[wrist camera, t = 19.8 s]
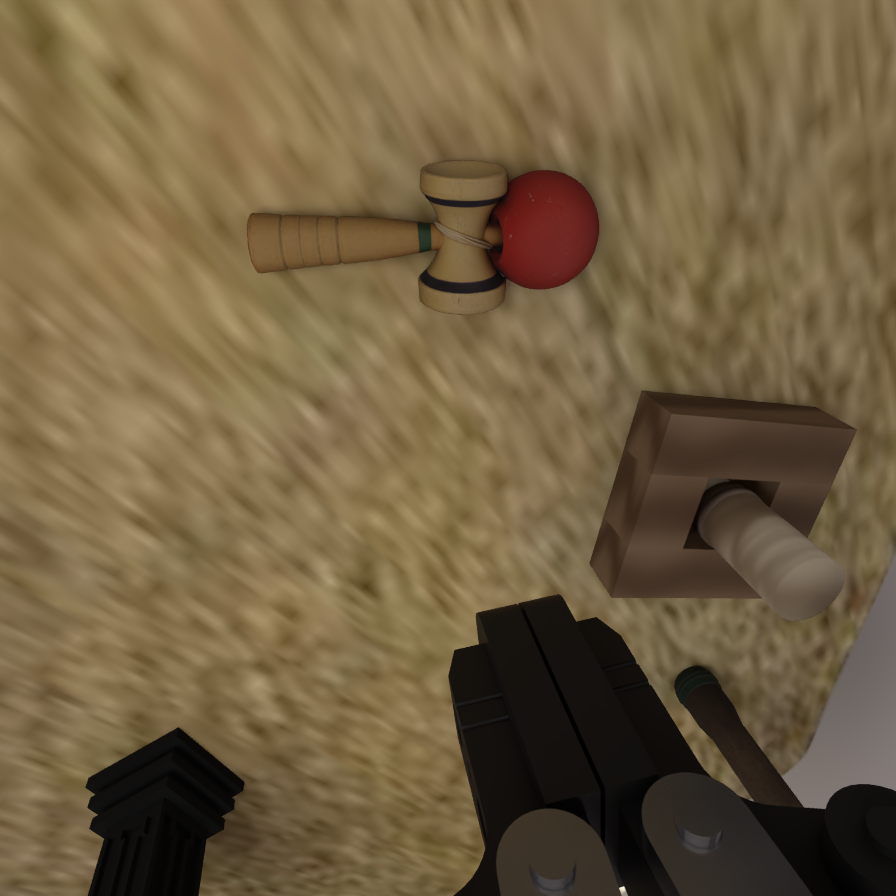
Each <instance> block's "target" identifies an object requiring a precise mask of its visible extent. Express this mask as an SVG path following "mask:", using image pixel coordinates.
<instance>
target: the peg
mask: <svg viewBox="0 0 896 896" xmlns="http://www.w3.org/2000/svg"><path fill="white" fill-rule="evenodd" d="M692 524H693V526H694V528H695V529H696V531H697V532H698V533H699V535H700V537H701V538H702V539H703V540H704V541H705V542H706V543H707V544H708V545H709V546H711V547H713V548H714V549H715V550H716V551H717V552H718V553H719V554H720V555H721V556H722V557H723V558H724V559H725V560H726V561H727V562H728V563H729V564H730V565H731V567H732V568H733V569H734V570H735V571H736V572H737V573H738V574H739V575H740V576H741V577H742V578H743V579H744V580H745V581H746V582H747V583H748V584H749V585H750V586H751V587H752V588H753V589H754V590H755V591H756V592H757V593H758V594H759V595H760V596H761V597H762V598H763V599H764V600H765V601H766V602H767V604H768V605H769V606H770V607H771V608H772V609H773V610H774V611H775V612H776V613H777V614H778V615H779V616H780V617H782V618H784V619H786V620H791V621H799V620H804V619H808V618H810V617H813V616H815V615H817V614H818V613H820V612H822V611H823V610H824V609H826V608H827V607H828V606H829V605H830V604H831V603H832V602H833V601H834V600H835V599H836V597H837V596H838V594H839V593H840V591H841V589H842V586H843V583H844V572H843V569H842V567H841V566H840V565H839V564H838V563H837V562H836V561H835V560H833V559H832V558H831V557H830V556H828V555H827V554H826V553H825V552H824V551H822V550H821V549H820V548H819V547H817V546H816V545H815V544H814V543H812V542H811V541H810V540H809V539H808V538H806V537H805V536H804V535H803V534H801V533H800V532H799V531H798V530H797V529H795V528H794V527H793V526H792V525H790V524H789V523H788V522H787V521H786V520H784V519H783V518H782V517H781V516H779V515H778V514H777V513H776V512H774V511H773V510H772V509H771V508H770V507H768V506H767V505H766V504H765V503H763V501H762V500H761V499H760V497H759V496H757V495H756V494H755V493H754V492H752V491H751V490H750V489H747V488H745V487H744V486H742V485H741V484H739V483H736V482H731V481H730V480H728V479H722V478H709V479H708V482H707V484H706V487H705V490H704V492H703V495H702V498H701V501H700V503H699V506H698V509H697V511H696V514H695V517H694V520H693V522H692Z"/></svg>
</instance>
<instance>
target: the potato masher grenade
mask: <svg viewBox="0 0 896 896" xmlns="http://www.w3.org/2000/svg"><path fill="white" fill-rule="evenodd" d="M675 690H676V695H677V698H678V699H679V701H680V703H682V704H683V705H684V707H685V708H686V709H687V710H688V711H689V712H690V713H691V715H692V716H693V718H694V719H695V721H696V722H697V724H698V725H699V727H700V728H701V729H702V730H703V731H704V732H705V733H706V734H707V735H708V736H709V737H710V738H711V739H712V740H713V741H714V742H715V744H716V745H717V747H718V748H719V750H720V751H721V753H722V754H723V756H724V757H725V759H726V760H727V762H728V763H729V765H730V766H731V768H732V769H733V771H734V772H735V774H736V775H737V776H738V778H739V779H740V781H741V782H742V784H743V785H744V787H745V788H746V790H747V791H748V793H749V794H750V796H751V797H752V799H753V800H754V802H757V803H761V804H767V805H776V806H789V807H803V805H802V804H801V803H800V801H799V800H798V799H797V797H796V796H795V795H794V793H793V792H792V791H791V789H790V788H789V786H788V785H787V784H786V782H785V781H784V780H783V778H782V777H781V776H780V774H779V773H778V772H777V770H776V769H775V767H774V766H773V765H772V763H771V762H770V761H769V759H768V758H767V757H766V755H765V754H764V753H763V751H762V750H761V749H760V747H759V746H758V744H757V743H756V742H755V740H754V739H753V738H752V736H751V735H750V734H749V732H748V731H747V730H746V728H745V727H744V726H743V724H742V722H741V720H740V718H739V716H738V714H737V712H736V709H735V707H734V705H733V704H732V703H731V701H730V700H729V699H728V697H727V696H726V695H725V693H724V692H723V690H722V688H721V686H720V684H719V682H718V680H717V678H716V677H715V676H714V675H713V674H712V673H711V672H710V671H707V670H706V669H704V668H702V667H692V668H689V669H686V670H685V671H683V672H682V673H681V674H680V675H679V676H678V677H677V679H676V681H675ZM803 808H804V807H803Z"/></svg>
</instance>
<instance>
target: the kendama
mask: <svg viewBox="0 0 896 896" xmlns="http://www.w3.org/2000/svg"><path fill="white" fill-rule="evenodd" d="M507 177H508V176H507V171H506V170H505V169H504V168H503V167H501V166H499V165H497V164H492V163H488V162H480V161H446V162H438V163H432V164H429V165H426V166H425V167H423V168H422V169H421V173H420V189H421V191H422V193H423V194H424V195H425V196H426V198H427V199H428V200H429V201H430V203H431V204H432V206H433V208H434V210H435V212H436V215H437V219H436V221H435V222H433V223H423V222H414V221H404V220H396V219H385V218H371V217H339V218H337V217H335V216H320V217H317V216H299V215H284V216H282V215H275V214H261V213H252V214H250V216H249V219H248V224H247V237H248V248H249V253H250V257H251V261H252V264H253V266H254V268H255V270H256V271H257V272H258V273H267V272H274V271H282V270H287V269H288V268H289V269H298V268H305V267H316V266H322V265H336V264H337V265H338V264H340V263H341V262H342V263H343V264H347V263H358V262H367V261H374V260H381V259H388V258H393V257H399V256H404V255H410V254H415V253H421V252H425V251H429V250H437V249H438V250H437V253H436V255H435V257H434V259H433V261H432V262H431V264H430V265H429V267H428V268H427V269H426V270H425V271H424V272H423V273H422V274H421V275H420V276H419V278H418V284H419V298H420V301H421V302H422V303H423V304H424V305H425V306H427V307H429V308H431V309H433V310H436V311H439V312H443V313H449V314H459V315H466V314H478V313H483V312H487V311H490V310H493V309H495V308H497V307H498V306H500V305H501V304H502V303H503V301H504V298H505V288H506V278H507V279H509V280H510V281H512V282H514V283H516V284H518V285H520V286H522V287H525V288H529V289H550V288H554V287H558V286H560V285H563V284H565V283H567V282H569V281H570V280H572V279H573V278H575V277H576V276H577V275H578V274H579V273H581V271H582V270H583V269H584V268H585V267H586V266H587V265H588V263H589V262H590V260H591V258H592V256H593V254H594V251H595V248H596V245H597V241H598V235H599V219H598V214H597V209H596V207H595V204H594V202H593V200H592V198H591V196H590V194H589V193H588V191H587V190H586V189H585V187H584V186H583V185H582V184H581V183H579V182H578V181H577V180H575V179H574V178H572V177H570V176H568V175H566V174H564V173H560V172H557V171H550V170H539V171H532V172H529V173H526V174H523V175H521V176H519V177H517V178H515V179H514V180H512V181H511V182H509V183H508V178H507Z"/></svg>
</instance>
